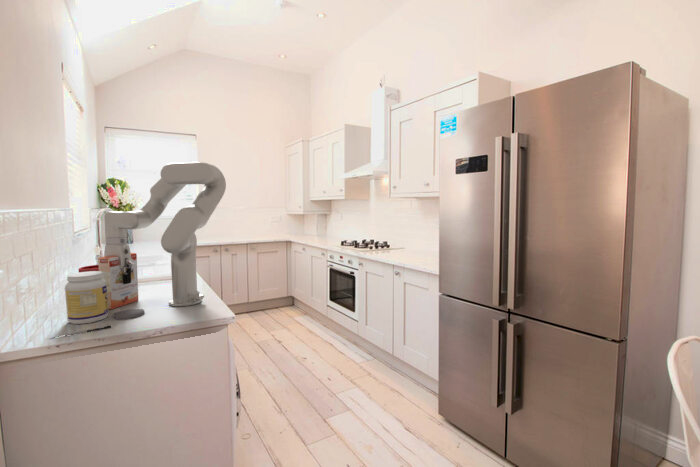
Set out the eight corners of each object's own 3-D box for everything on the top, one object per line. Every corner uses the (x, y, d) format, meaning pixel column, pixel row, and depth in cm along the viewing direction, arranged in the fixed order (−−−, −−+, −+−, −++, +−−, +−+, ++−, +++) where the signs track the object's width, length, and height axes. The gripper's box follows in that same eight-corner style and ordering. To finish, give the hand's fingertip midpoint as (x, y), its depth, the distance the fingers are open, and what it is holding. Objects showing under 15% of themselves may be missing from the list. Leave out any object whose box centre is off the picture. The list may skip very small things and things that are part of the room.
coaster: (150, 312, 140) (150, 309, 140) (127, 320, 130) (127, 317, 130) (130, 310, 143) (130, 307, 143) (106, 318, 133) (106, 315, 133)
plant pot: (112, 286, 184) (111, 262, 183) (113, 291, 173) (111, 266, 172) (80, 289, 177) (79, 265, 176) (79, 295, 166) (77, 269, 165)
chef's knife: (38, 340, 114) (37, 342, 111) (38, 336, 114) (37, 339, 111) (110, 326, 125) (111, 328, 123) (110, 323, 125) (111, 325, 123)
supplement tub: (113, 318, 132) (110, 273, 131) (71, 327, 123) (68, 278, 122) (103, 312, 141) (100, 269, 139) (63, 319, 132) (60, 274, 130)
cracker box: (112, 309, 143) (109, 257, 142) (100, 309, 145) (96, 257, 143) (139, 300, 157) (137, 252, 155) (128, 299, 158) (125, 252, 156)
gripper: (140, 241, 149) (142, 282, 151) (109, 239, 155) (110, 279, 156) (124, 243, 142) (126, 286, 144) (91, 241, 148) (93, 282, 149)
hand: (118, 282), depth 150 cm, fingers open, 9 cm apart
